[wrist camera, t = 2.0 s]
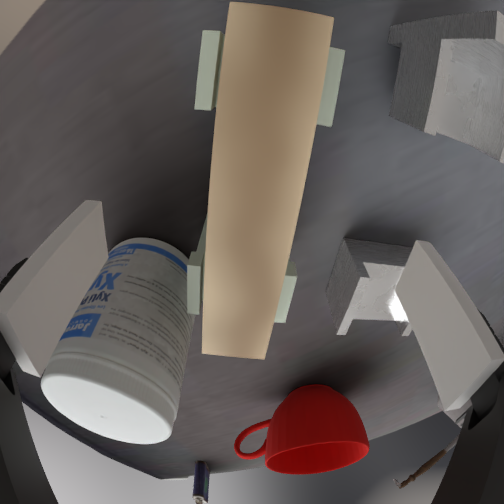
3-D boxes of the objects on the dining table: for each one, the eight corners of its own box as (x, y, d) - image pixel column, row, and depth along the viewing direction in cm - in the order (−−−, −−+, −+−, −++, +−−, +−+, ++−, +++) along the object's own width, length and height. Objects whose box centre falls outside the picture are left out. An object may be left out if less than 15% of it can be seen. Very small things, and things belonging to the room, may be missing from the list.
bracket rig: (325, 292, 29) (351, 401, 19) (390, 26, 16) (497, 10, 6) (390, 296, 30) (431, 393, 20) (465, 59, 17) (577, 81, 7)
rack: (202, 252, 27) (187, 313, 21) (220, 43, 18) (203, 30, 11) (278, 260, 27) (284, 322, 21) (315, 56, 18) (345, 50, 12)
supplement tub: (124, 214, 25) (37, 346, 13) (220, 265, 28) (199, 418, 15) (96, 288, 29) (38, 407, 17) (177, 327, 32) (149, 455, 20)
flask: (210, 472, 61) (208, 510, 52) (198, 471, 61) (195, 509, 52) (206, 461, 56) (202, 503, 47) (192, 460, 56) (188, 502, 47)
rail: (208, 310, 22) (202, 353, 19) (235, 17, 12) (230, 1, 9) (263, 316, 23) (264, 359, 19) (315, 29, 12) (334, 17, 9)
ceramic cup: (226, 378, 37) (221, 449, 29) (361, 363, 36) (378, 432, 27) (243, 421, 44) (242, 478, 36) (351, 410, 43) (361, 466, 34)
